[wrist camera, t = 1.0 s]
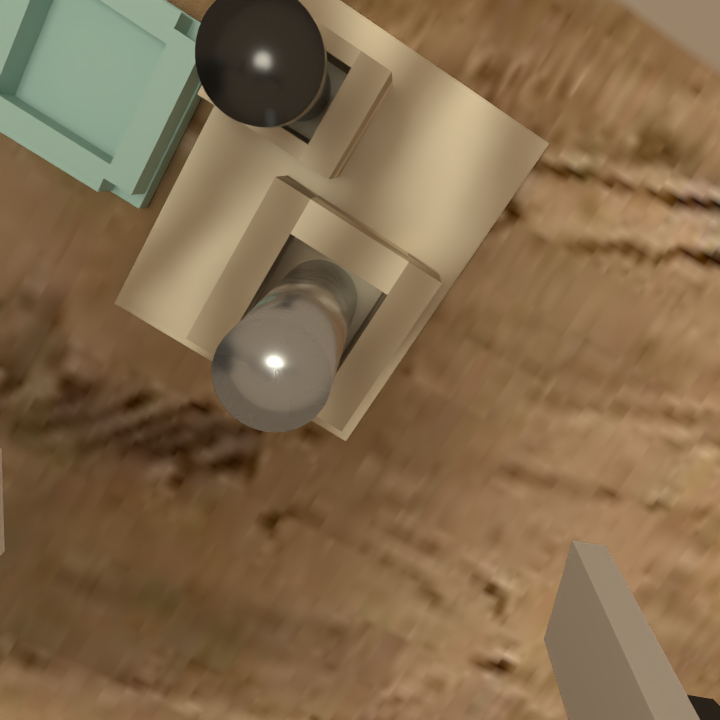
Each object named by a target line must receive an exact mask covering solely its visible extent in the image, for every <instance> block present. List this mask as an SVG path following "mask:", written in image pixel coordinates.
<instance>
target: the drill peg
mask: <svg viewBox="0 0 720 720" xmlns="http://www.w3.org/2000/svg"><path fill="white" fill-rule="evenodd" d="M356 305H357V293H356V288H355V285H354V283H353V280H352V279H351V277H350V276H349V274H348V273H347V272H346V271H345V270H344V269H343V268H341V267H340V266H339V265H337V264H335V263H333V262H330V261H326V260H309V261H306V262H303V263H301V264H299V265H297V266H296V267H295V268H293V269H292V270H291V271H290V272H289V273H288V274H287V275H286V276H285V277H284V278H283V279H282V280H281V281H280V282H279V283H278V284H277V285H276V286H275V287H274V288H273V289H272V290H271V291H270V292H269V293H268V294H267V295H266V296H265V297H264V298H263V299H262V300H261V301H260V302H259V303H258V304H257V305H256V306H255V307H254V308H253V309H252V310H251V311H250V312H249V313H248V314H247V315H246V316H245V317H244V318H243V319H242V320H241V321H240V322H239V323H238V324H237V325H236V326H235V327H234V328H232V329H231V330H230V331H229V332H228V333H227V335H226V336H225V337H224V338H223V339H222V341H221V342H220V344H219V345H218V347H217V349H216V351H215V354H214V357H213V362H212V381H213V385H214V389H215V392H216V394H217V396H218V398H219V400H220V402H221V403H222V405H223V406H224V408H225V409H226V410H227V411H228V412H229V413H230V414H231V415H232V416H233V417H234V418H235V419H237V420H238V421H240V422H241V423H243V424H245V425H247V426H249V427H251V428H254V429H256V430H260V431H265V432H286V431H290V430H294V429H297V428H299V427H302V426H303V425H305V424H307V423H309V422H310V421H311V420H312V419H314V418H315V417H316V416H317V415H318V414H319V413H320V411H321V410H322V409H323V407H324V405H325V404H326V402H327V400H328V397H329V394H330V391H331V388H332V385H333V381H334V378H335V375H336V371H337V368H338V365H339V362H340V358H341V355H342V352H343V348H344V345H345V342H346V339H347V335H348V332H349V329H350V325H351V322H352V319H353V316H354V312H355V309H356Z"/></svg>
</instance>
